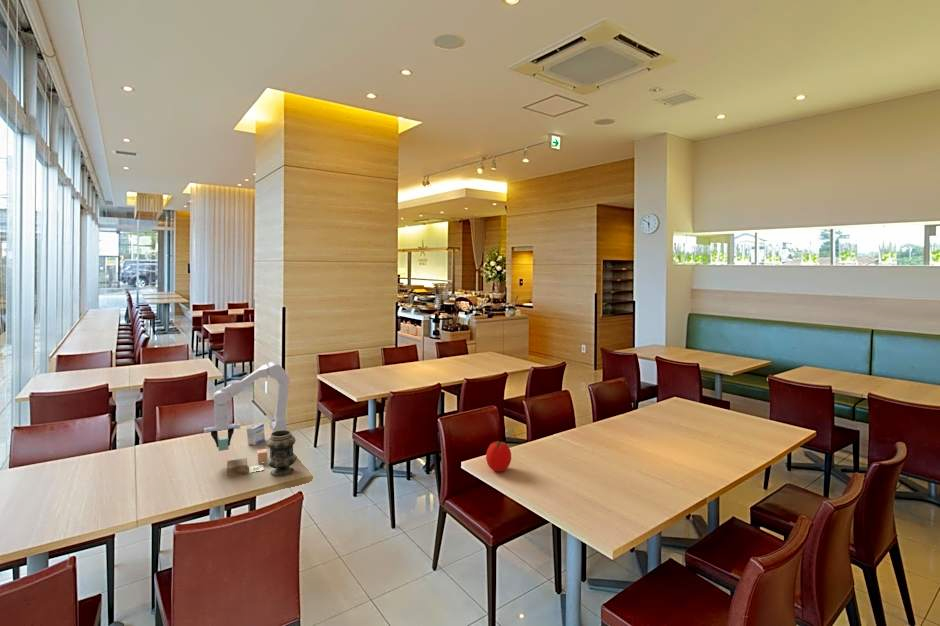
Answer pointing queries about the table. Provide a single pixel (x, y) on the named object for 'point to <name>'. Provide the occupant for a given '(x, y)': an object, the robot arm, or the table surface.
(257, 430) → the medicine box
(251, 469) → the card
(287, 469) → the apothecary jar
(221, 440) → the teal block
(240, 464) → the walnut block
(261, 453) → the terracotta block
